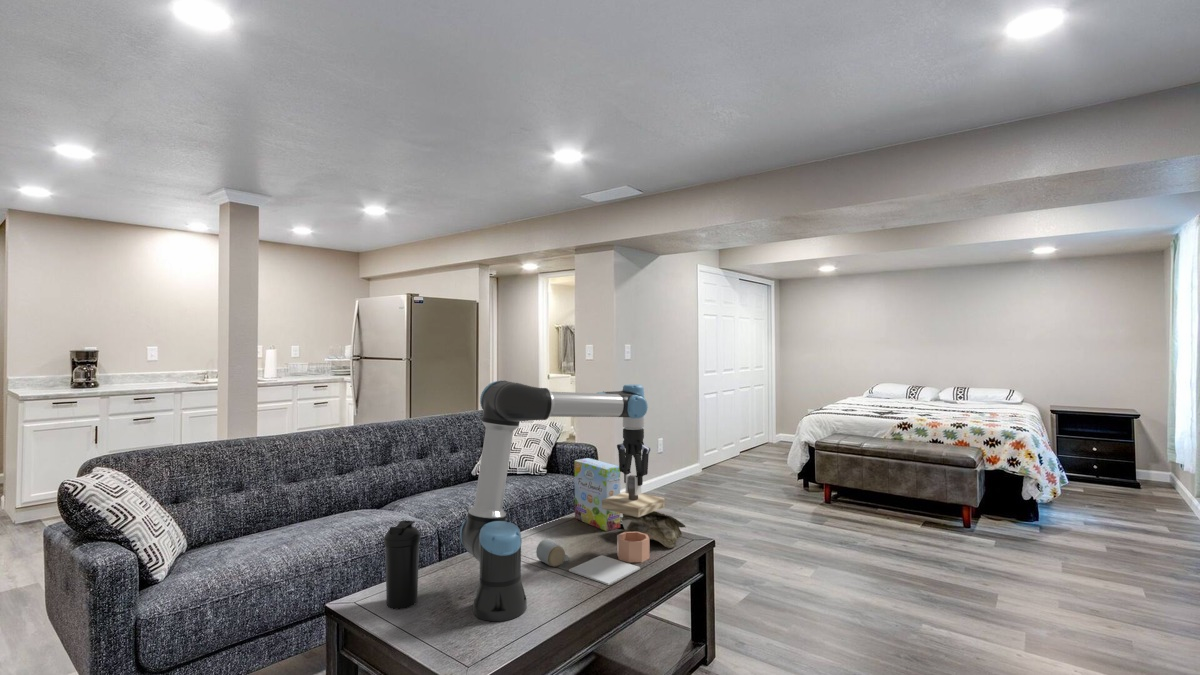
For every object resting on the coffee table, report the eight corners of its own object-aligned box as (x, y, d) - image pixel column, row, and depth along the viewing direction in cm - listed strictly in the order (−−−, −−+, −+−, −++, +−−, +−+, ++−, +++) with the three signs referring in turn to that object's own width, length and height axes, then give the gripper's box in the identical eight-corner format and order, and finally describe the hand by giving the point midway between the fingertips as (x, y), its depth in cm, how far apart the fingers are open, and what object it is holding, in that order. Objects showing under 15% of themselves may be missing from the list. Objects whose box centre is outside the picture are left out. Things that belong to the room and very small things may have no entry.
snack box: (572, 519, 247) (573, 459, 247) (588, 515, 252) (588, 457, 252) (605, 532, 230) (606, 468, 230) (621, 527, 236) (621, 465, 236)
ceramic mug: (548, 570, 192) (549, 547, 192) (535, 562, 198) (536, 540, 198) (574, 563, 198) (574, 541, 198) (560, 556, 205) (561, 534, 205)
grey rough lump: (622, 542, 231) (603, 521, 224) (637, 516, 238) (619, 494, 231) (677, 559, 212) (659, 536, 205) (692, 529, 218) (674, 506, 211)
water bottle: (426, 596, 171) (427, 519, 172) (408, 612, 161) (408, 530, 162) (396, 593, 173) (396, 517, 174) (376, 609, 163) (376, 528, 164)
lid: (638, 517, 193) (638, 484, 193) (601, 508, 203) (601, 477, 203) (664, 507, 205) (664, 475, 205) (629, 499, 215) (629, 469, 216)
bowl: (636, 564, 196) (636, 544, 196) (611, 557, 203) (611, 537, 203) (654, 555, 205) (654, 536, 205) (630, 548, 212) (630, 529, 212)
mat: (608, 585, 180) (608, 583, 180) (568, 571, 191) (568, 569, 191) (640, 568, 193) (640, 567, 193) (601, 556, 204) (601, 555, 204)
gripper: (658, 428, 202) (658, 495, 202) (621, 424, 213) (621, 487, 212) (646, 431, 196) (645, 499, 196) (608, 426, 207) (608, 491, 207)
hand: (633, 493), depth 204 cm, fingers closed on lid, 3 cm apart
